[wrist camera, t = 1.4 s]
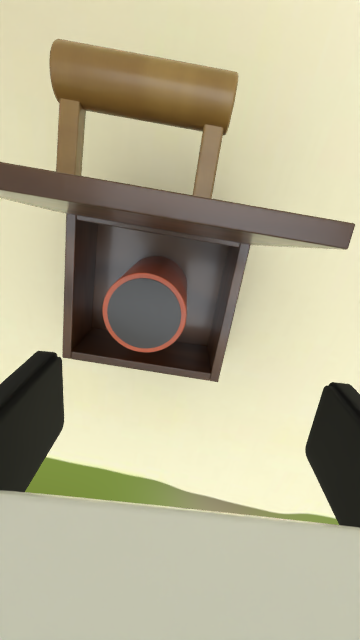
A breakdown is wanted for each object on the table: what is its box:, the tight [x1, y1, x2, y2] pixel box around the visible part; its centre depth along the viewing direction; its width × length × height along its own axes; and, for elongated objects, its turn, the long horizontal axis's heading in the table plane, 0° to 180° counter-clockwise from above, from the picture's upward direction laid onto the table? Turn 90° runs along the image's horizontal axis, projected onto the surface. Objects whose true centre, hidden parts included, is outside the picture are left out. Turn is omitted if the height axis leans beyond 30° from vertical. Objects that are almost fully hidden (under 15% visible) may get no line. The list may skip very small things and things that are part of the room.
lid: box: [0, 39, 355, 249], centre depth 15 cm, size 14×15×5 cm
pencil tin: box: [102, 256, 187, 352], centre depth 27 cm, size 6×6×9 cm
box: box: [63, 213, 250, 382], centre depth 28 cm, size 13×15×7 cm
